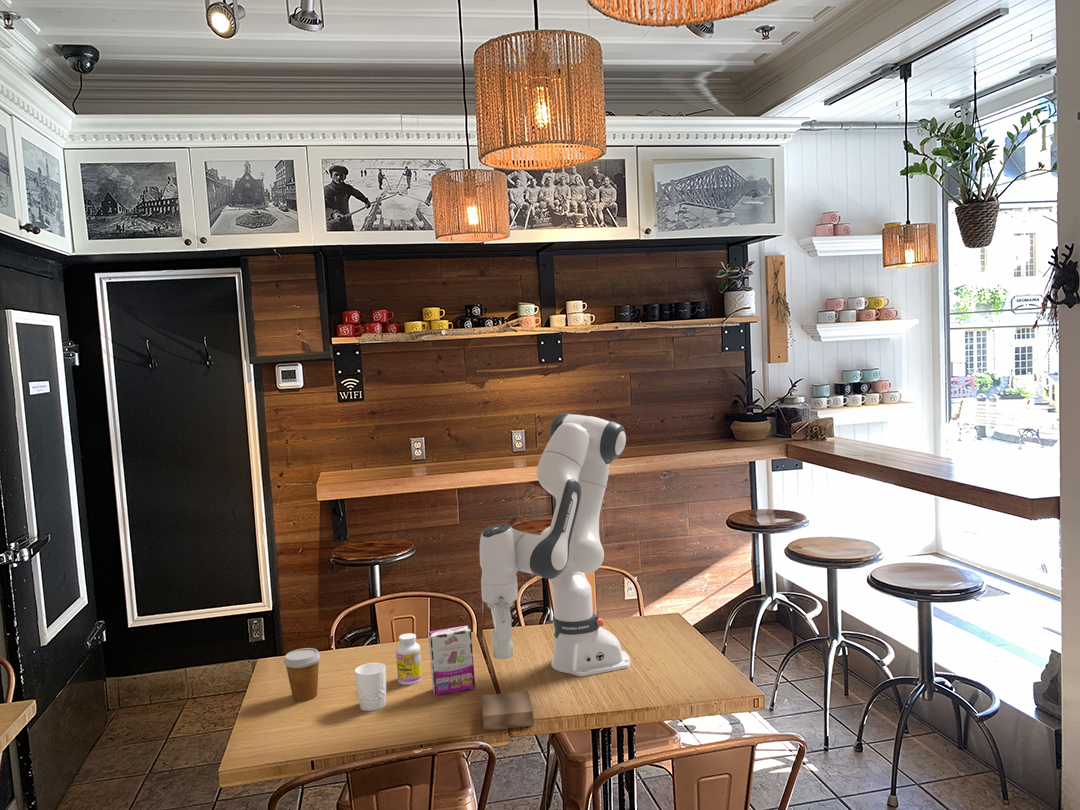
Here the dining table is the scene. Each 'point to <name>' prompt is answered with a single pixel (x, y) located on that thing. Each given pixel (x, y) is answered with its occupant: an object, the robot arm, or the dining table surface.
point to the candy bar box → (451, 660)
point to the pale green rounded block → (496, 648)
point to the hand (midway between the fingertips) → (502, 647)
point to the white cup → (371, 686)
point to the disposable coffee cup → (303, 673)
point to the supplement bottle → (408, 660)
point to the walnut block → (506, 710)
